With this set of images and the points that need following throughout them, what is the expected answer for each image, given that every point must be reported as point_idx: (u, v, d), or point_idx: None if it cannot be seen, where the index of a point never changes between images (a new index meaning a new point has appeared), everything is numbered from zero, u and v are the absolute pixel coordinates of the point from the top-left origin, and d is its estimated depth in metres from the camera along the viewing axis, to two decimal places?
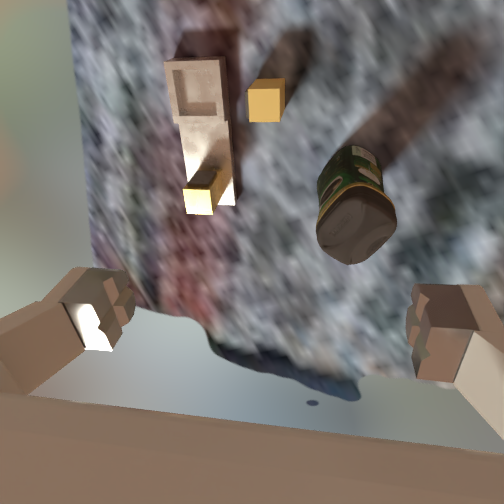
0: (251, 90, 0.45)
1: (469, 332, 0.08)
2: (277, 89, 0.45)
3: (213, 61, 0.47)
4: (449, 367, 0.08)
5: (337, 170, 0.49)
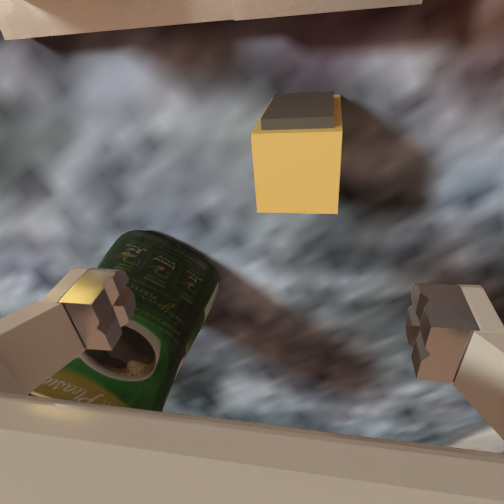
0: (338, 142, 0.16)
1: (469, 332, 0.08)
2: (335, 208, 0.18)
3: None
4: (449, 367, 0.08)
5: (170, 314, 0.24)
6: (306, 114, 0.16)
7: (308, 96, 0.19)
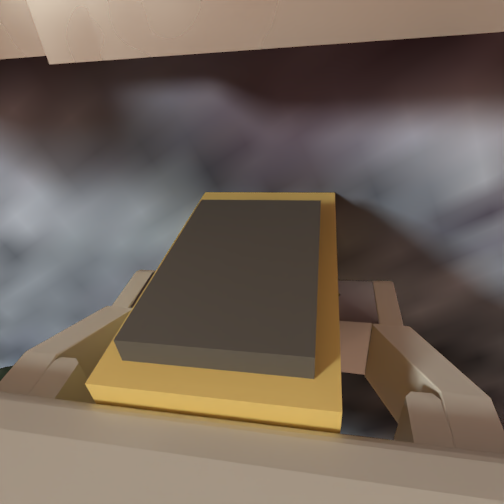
0: (329, 429, 0.05)
1: (370, 325, 0.08)
2: None
3: None
4: (358, 359, 0.09)
5: None
6: (242, 324, 0.06)
7: (265, 217, 0.09)
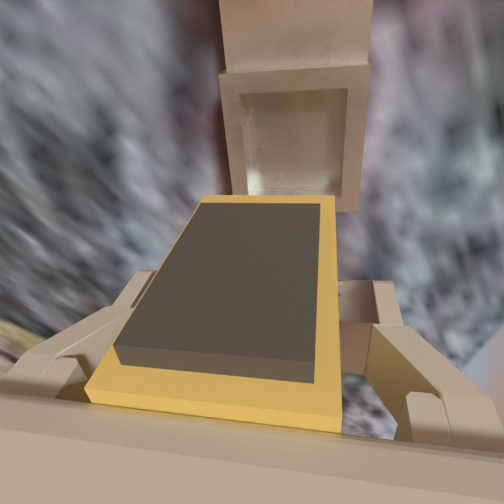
0: None
1: (370, 325, 0.08)
2: None
3: None
4: (358, 359, 0.09)
5: None
6: (241, 328, 0.06)
7: (265, 220, 0.09)
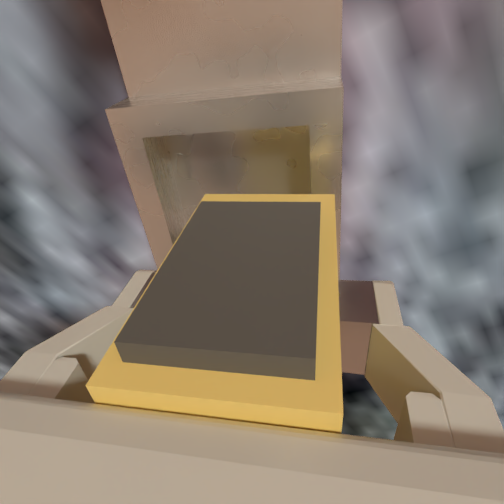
0: (331, 431, 0.05)
1: (370, 325, 0.08)
2: None
3: None
4: (358, 359, 0.09)
5: None
6: (242, 325, 0.06)
7: (265, 218, 0.09)
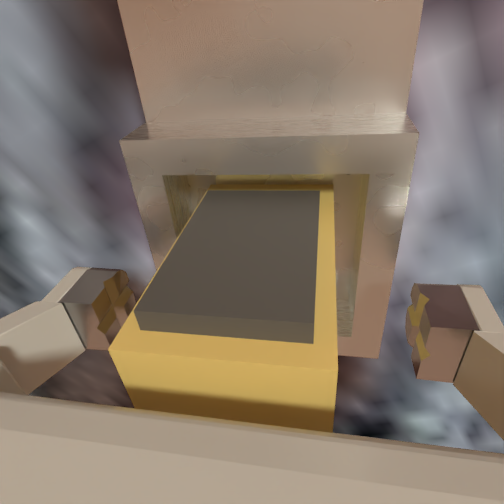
0: (327, 387, 0.06)
1: (469, 332, 0.08)
2: None
3: None
4: (449, 367, 0.08)
5: None
6: (248, 297, 0.07)
7: (268, 205, 0.09)
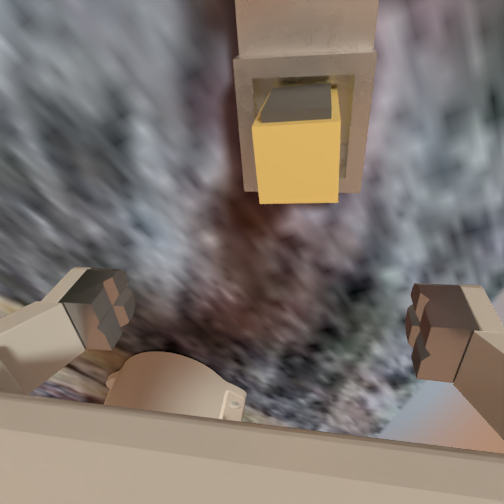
0: (337, 132, 0.16)
1: (469, 332, 0.08)
2: (336, 197, 0.18)
3: (254, 189, 0.24)
4: (449, 367, 0.08)
5: None
6: (305, 106, 0.17)
7: (306, 88, 0.20)
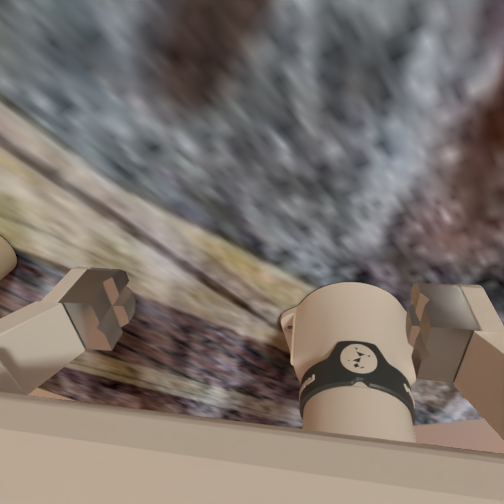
0: None
1: (469, 332, 0.08)
2: None
3: None
4: (449, 367, 0.08)
5: None
6: None
7: None
